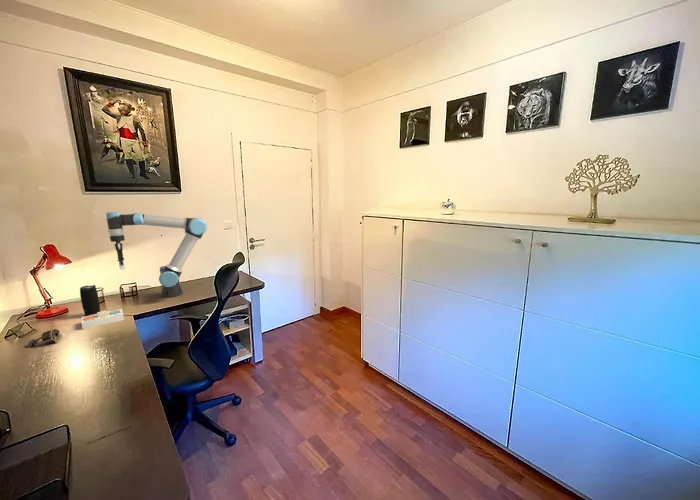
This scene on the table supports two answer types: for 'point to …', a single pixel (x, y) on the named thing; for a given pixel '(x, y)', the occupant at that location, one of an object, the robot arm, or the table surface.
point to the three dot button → (89, 317)
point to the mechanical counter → (47, 337)
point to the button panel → (102, 319)
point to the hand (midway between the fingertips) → (122, 269)
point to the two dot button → (102, 313)
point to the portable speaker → (89, 300)
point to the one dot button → (114, 312)
